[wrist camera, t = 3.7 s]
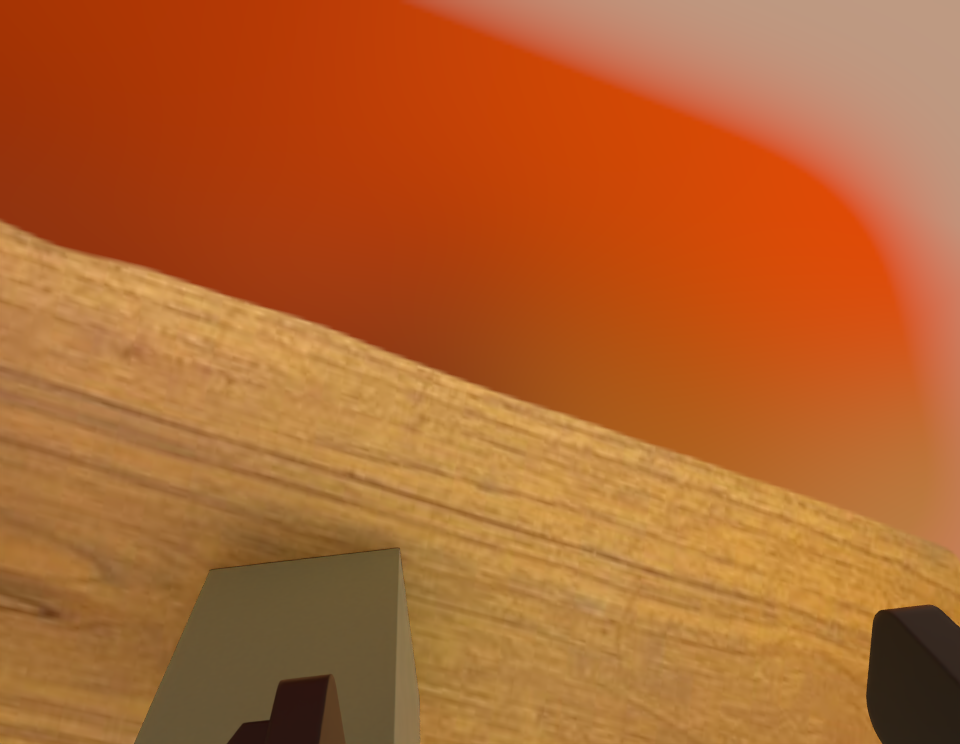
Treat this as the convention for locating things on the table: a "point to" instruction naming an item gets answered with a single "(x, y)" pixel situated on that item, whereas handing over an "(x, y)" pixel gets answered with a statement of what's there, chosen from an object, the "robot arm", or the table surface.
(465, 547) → the table surface
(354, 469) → the table surface
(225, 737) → the green block
